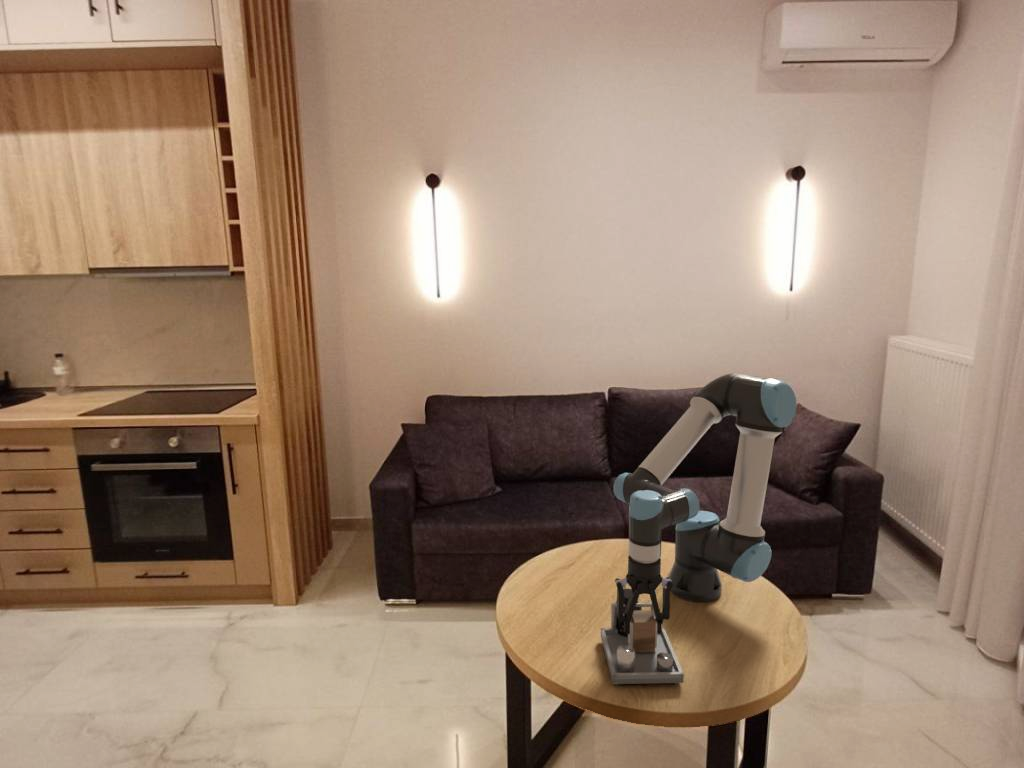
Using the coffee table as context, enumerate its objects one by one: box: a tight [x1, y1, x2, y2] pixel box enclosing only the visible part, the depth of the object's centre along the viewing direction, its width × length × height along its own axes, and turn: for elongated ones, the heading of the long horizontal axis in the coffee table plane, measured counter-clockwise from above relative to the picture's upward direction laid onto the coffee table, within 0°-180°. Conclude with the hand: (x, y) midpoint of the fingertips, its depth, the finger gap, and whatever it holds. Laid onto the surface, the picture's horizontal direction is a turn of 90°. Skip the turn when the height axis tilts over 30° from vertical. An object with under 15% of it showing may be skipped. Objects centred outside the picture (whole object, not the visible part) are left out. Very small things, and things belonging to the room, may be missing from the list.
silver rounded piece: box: [617, 645, 635, 673], centre depth 141 cm, size 4×4×5 cm
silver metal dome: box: [656, 653, 673, 672], centre depth 141 cm, size 4×4×3 cm
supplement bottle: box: [615, 588, 643, 637], centre depth 156 cm, size 7×7×12 cm
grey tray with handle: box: [600, 602, 685, 686], centre depth 147 cm, size 16×18×10 cm
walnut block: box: [632, 609, 656, 653], centre depth 148 cm, size 5×5×8 cm
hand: (642, 644), depth 149 cm, fingers closed on walnut block, 5 cm apart
